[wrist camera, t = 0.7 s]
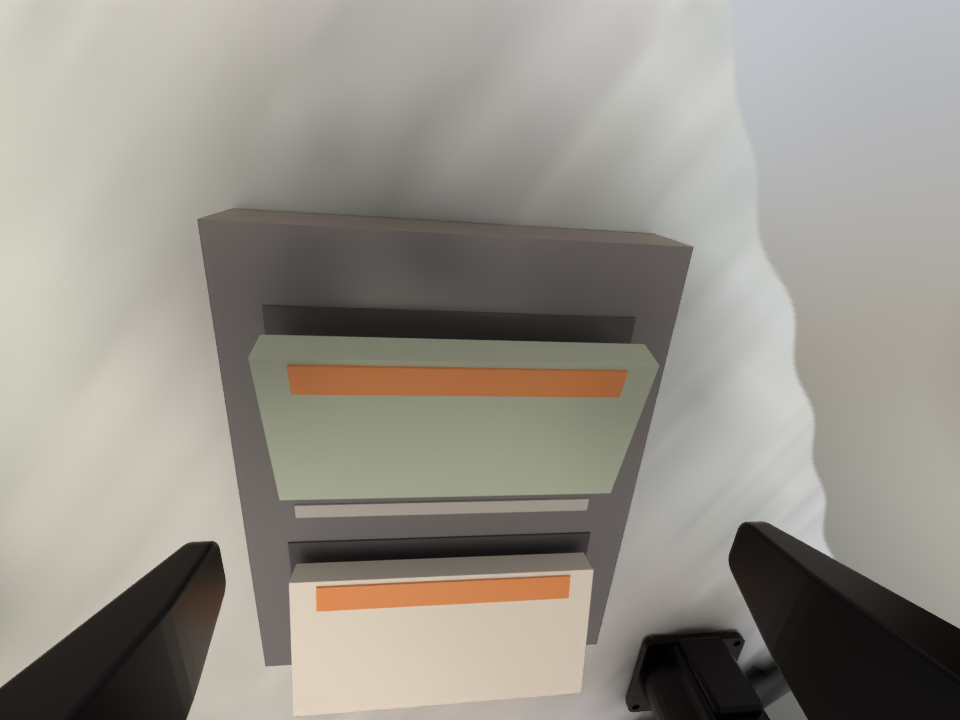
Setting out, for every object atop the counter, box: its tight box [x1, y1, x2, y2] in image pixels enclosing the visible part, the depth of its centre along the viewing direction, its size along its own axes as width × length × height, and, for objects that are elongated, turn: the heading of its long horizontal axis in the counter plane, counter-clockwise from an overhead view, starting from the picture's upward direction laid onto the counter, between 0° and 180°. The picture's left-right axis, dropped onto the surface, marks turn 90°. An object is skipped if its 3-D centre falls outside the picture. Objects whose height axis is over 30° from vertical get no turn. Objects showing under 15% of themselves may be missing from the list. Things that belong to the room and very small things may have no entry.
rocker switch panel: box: [197, 209, 693, 666], centre depth 21 cm, size 20×16×3 cm
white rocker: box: [289, 552, 594, 717], centre depth 20 cm, size 6×12×2 cm, turn 86°
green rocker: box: [248, 335, 659, 500], centre depth 16 cm, size 6×12×2 cm, turn 85°
